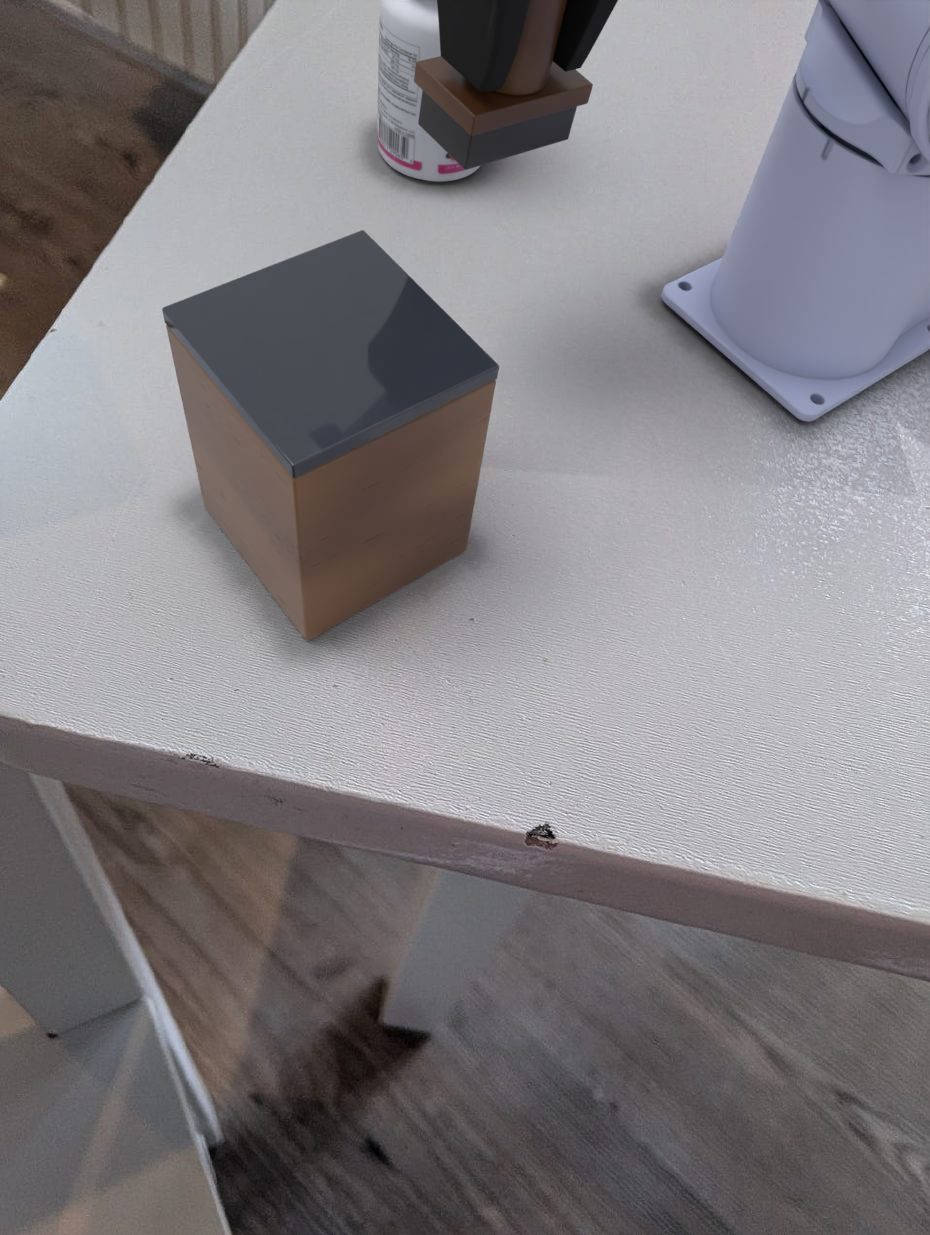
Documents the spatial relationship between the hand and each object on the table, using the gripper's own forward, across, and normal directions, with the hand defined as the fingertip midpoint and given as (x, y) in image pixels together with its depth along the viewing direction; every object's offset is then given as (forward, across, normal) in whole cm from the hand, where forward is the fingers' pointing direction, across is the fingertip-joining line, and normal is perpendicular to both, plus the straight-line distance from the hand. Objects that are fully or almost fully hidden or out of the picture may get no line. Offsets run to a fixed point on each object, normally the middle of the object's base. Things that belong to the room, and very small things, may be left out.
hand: (512, 61), depth 27 cm
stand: (+11, +8, +5) cm, 14 cm away
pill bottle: (+10, -6, -10) cm, 15 cm away
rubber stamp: (+2, 0, 0) cm, 2 cm away
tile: (+3, +9, +5) cm, 10 cm away
